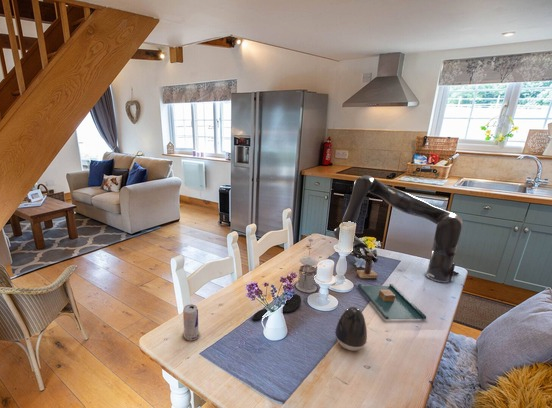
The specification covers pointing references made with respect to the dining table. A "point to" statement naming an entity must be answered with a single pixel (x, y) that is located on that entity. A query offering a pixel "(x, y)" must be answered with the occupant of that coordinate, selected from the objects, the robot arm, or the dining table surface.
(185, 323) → the energy drink
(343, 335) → the black egg shaped diffuser
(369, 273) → the wooden dowel stand
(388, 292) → the cork chunk
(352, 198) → the robot arm
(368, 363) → the dining table surface
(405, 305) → the tray
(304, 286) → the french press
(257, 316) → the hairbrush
